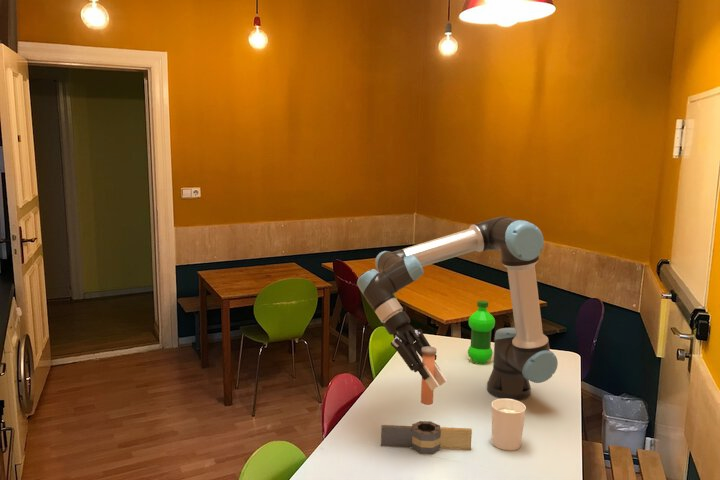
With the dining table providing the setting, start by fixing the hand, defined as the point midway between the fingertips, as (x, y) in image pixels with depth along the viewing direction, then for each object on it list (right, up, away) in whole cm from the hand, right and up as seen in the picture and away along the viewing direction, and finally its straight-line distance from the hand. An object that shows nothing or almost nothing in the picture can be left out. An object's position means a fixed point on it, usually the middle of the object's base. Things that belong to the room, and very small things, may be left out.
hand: (439, 385), depth 166 cm
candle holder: (+21, -19, +8) cm, 30 cm away
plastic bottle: (+26, -9, +74) cm, 79 cm away
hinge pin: (-3, -6, +3) cm, 7 cm away
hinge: (-3, -19, +6) cm, 20 cm away
